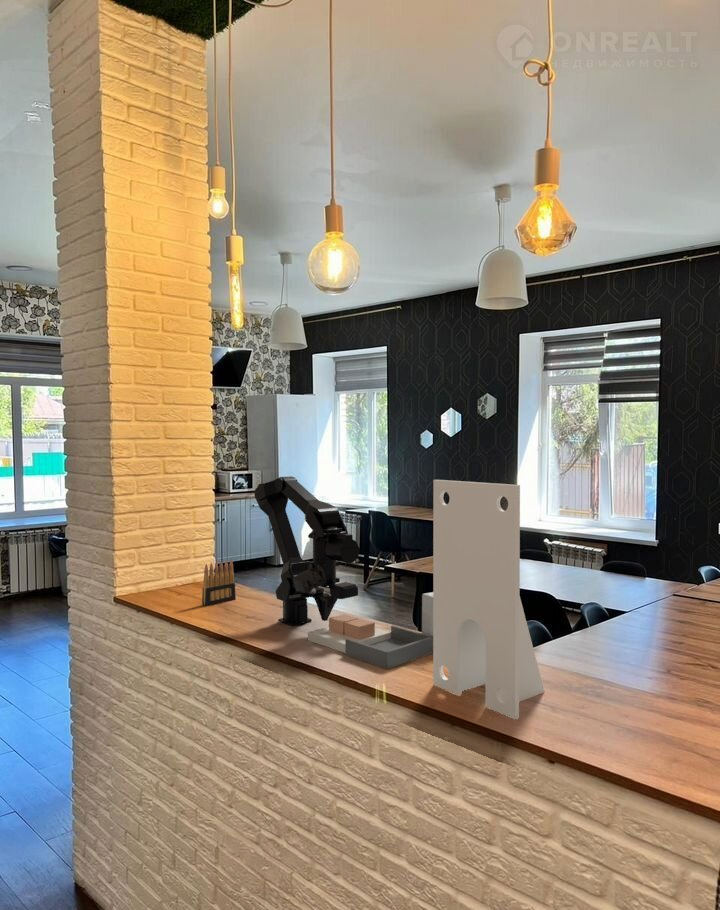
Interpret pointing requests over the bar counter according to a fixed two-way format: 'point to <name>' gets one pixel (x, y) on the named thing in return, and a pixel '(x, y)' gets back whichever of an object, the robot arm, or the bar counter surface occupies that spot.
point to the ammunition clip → (218, 584)
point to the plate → (338, 640)
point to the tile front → (359, 629)
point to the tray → (392, 648)
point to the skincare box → (427, 613)
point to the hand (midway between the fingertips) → (324, 620)
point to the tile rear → (339, 623)
